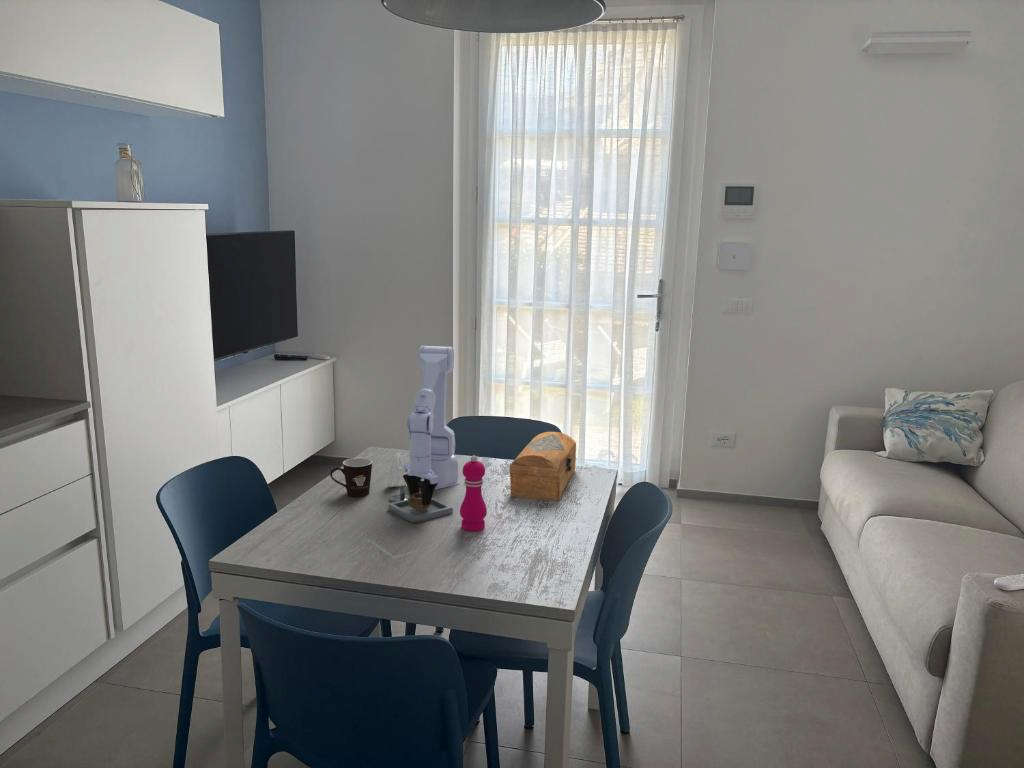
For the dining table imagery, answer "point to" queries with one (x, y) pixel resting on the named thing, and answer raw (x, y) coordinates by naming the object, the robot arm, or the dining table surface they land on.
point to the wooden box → (543, 467)
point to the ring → (417, 501)
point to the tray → (420, 510)
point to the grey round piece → (399, 497)
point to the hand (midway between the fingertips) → (420, 501)
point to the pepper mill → (473, 497)
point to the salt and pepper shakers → (396, 471)
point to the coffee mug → (356, 476)
